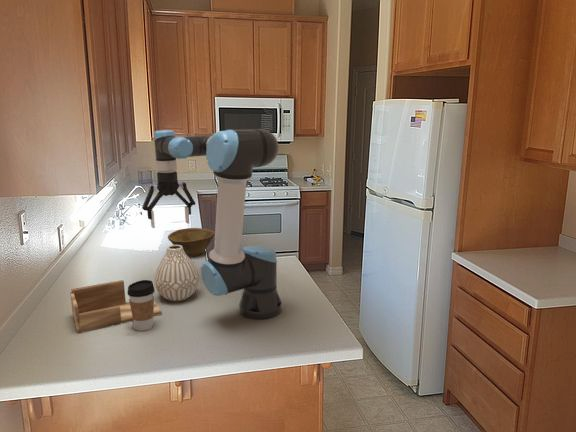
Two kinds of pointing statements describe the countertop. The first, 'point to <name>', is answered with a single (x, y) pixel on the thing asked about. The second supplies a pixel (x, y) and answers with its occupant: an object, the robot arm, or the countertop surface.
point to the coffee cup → (142, 304)
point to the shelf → (101, 306)
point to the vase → (176, 275)
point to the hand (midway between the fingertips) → (170, 225)
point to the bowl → (192, 240)
